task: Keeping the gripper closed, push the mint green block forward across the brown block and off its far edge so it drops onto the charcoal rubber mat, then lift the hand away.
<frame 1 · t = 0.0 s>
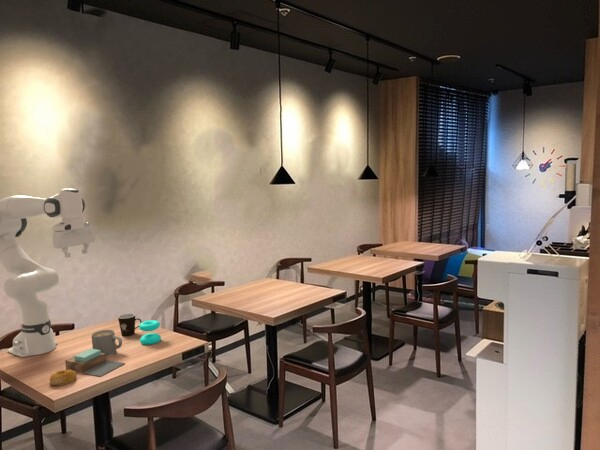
hand: (76, 255, 214), 48 cm above the table, tool pointing down, fingers open, 8 cm apart
bagel: (63, 381, 195), on the table
mat: (104, 368, 206), on the table
mint green block: (88, 357, 209), point 4 cm above the table, touching brown block
coffee mug 2: (108, 354, 223), on the table
brown block: (86, 365, 210), on the table
coffee mug: (130, 335, 248), on the table
donuts: (150, 342, 237), on the table
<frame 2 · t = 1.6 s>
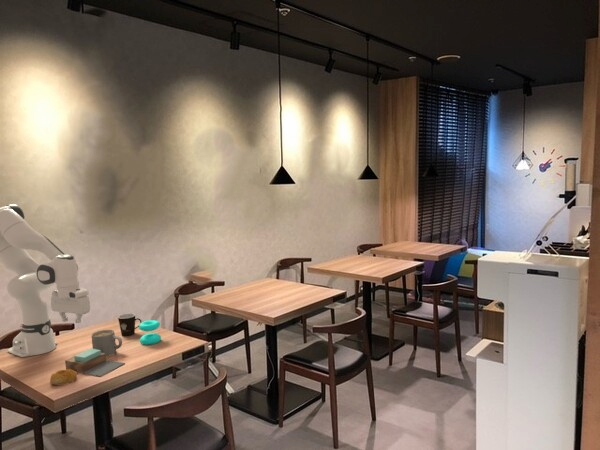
hand: (71, 322, 210), 19 cm above the table, tool pointing down, fingers open, 7 cm apart
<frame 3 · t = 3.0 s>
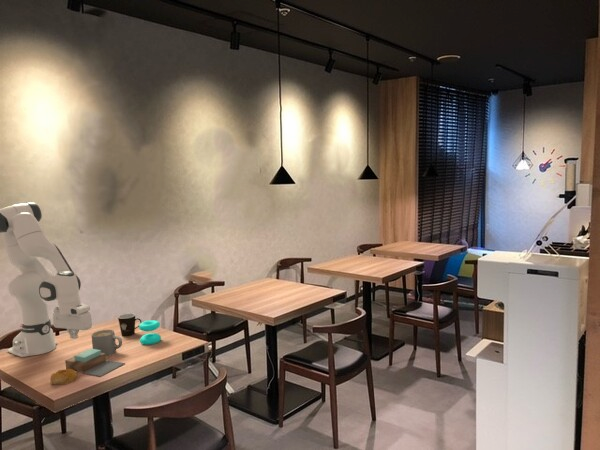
hand: (74, 338, 211), 12 cm above the table, tool pointing down, fingers closed
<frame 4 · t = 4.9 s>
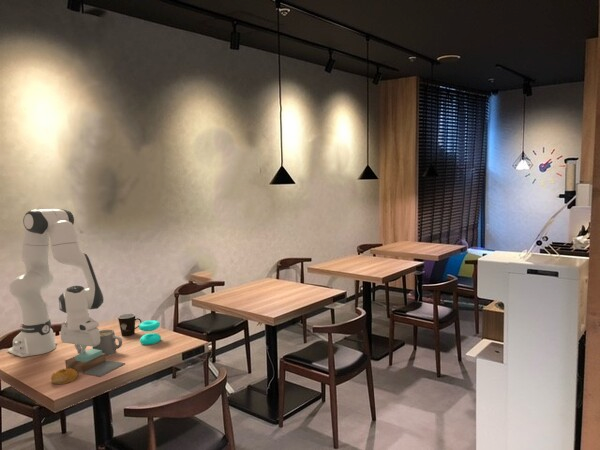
hand: (81, 353, 210), 5 cm above the table, tool pointing down, fingers closed
mint green block: (89, 357, 208), point 4 cm above the table, touching brown block, gripper
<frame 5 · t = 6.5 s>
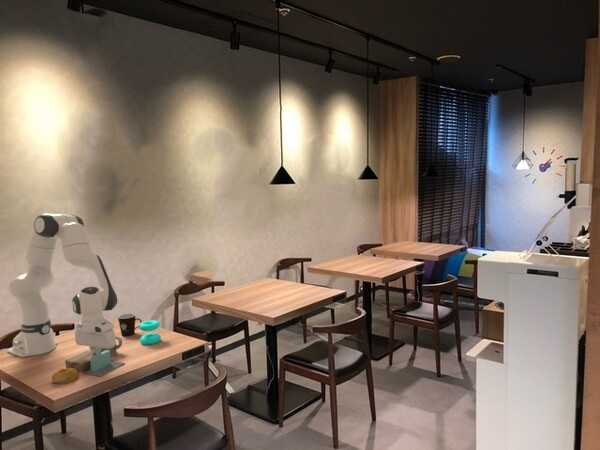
hand: (96, 355, 207), 5 cm above the table, tool pointing down, fingers closed
mint green block: (98, 360, 206), point 4 cm above the table, tilted 95°, touching mat
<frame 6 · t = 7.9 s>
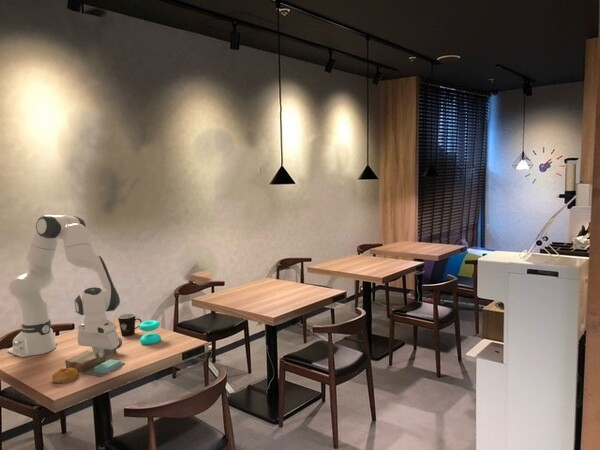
hand: (99, 356, 206), 5 cm above the table, tool pointing down, fingers closed
mint green block: (107, 364, 204), point 2 cm above the table, tilted 180°, touching mat
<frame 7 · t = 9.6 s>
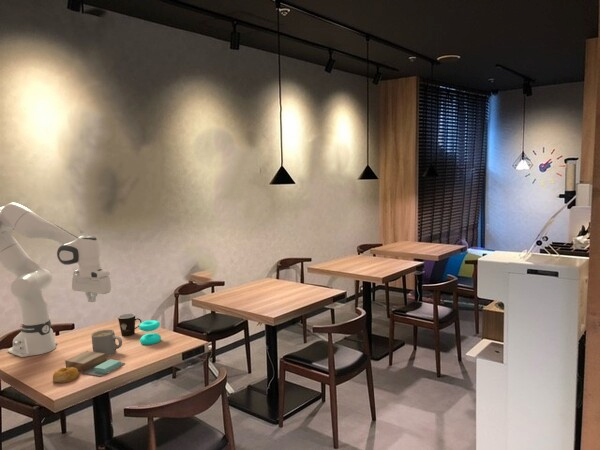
hand: (91, 301, 215), 27 cm above the table, tool pointing down, fingers closed
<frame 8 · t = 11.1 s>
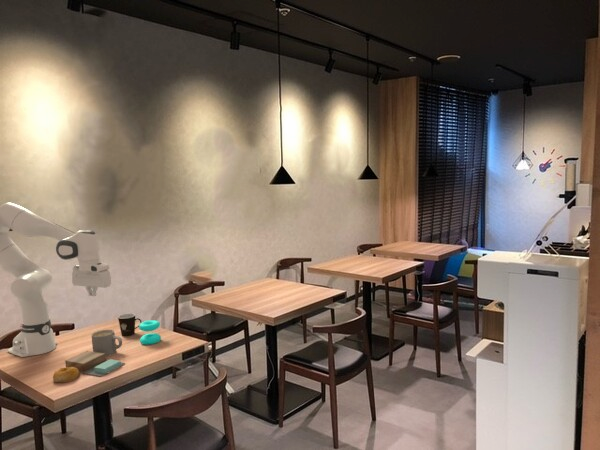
hand: (92, 295, 216), 29 cm above the table, tool pointing down, fingers closed
at the end: mint green block point 2.4 cm above the table; mint green block inside the target area on the mat (2.1 cm from its centre), point 2.4 cm above the mat's base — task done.
